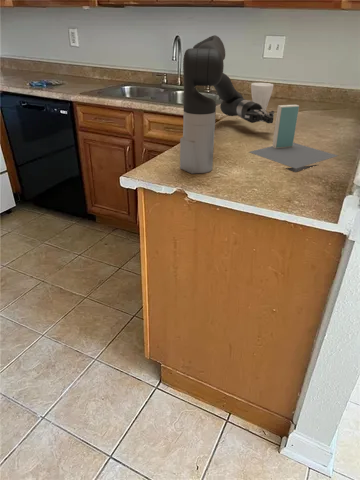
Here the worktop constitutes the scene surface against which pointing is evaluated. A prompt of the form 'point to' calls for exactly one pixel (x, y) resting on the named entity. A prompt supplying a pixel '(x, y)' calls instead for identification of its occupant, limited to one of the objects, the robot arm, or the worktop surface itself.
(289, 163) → the mat
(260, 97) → the cup
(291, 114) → the tile
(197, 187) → the worktop surface
